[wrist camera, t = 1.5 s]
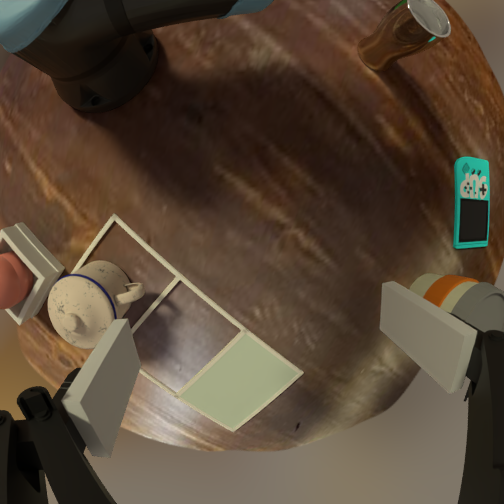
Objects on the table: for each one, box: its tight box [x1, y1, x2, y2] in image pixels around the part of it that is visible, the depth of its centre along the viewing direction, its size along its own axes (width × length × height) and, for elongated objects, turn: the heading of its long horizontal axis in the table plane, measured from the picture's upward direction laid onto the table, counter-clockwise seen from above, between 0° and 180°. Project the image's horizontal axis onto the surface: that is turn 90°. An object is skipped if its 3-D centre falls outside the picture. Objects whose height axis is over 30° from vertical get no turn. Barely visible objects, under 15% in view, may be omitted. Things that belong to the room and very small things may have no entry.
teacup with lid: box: [48, 261, 145, 349], centre depth 32 cm, size 12×9×12 cm
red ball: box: [0, 251, 33, 309], centre depth 29 cm, size 7×7×7 cm
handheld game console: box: [453, 157, 490, 249], centre depth 42 cm, size 10×16×1 cm, turn 2°
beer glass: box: [358, 0, 451, 71], centre depth 28 cm, size 7×7×15 cm
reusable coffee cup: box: [409, 273, 504, 333], centre depth 37 cm, size 13×13×15 cm
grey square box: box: [0, 222, 65, 325], centre depth 33 cm, size 10×10×6 cm
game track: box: [71, 213, 304, 432], centre depth 40 cm, size 35×16×1 cm, turn 47°
